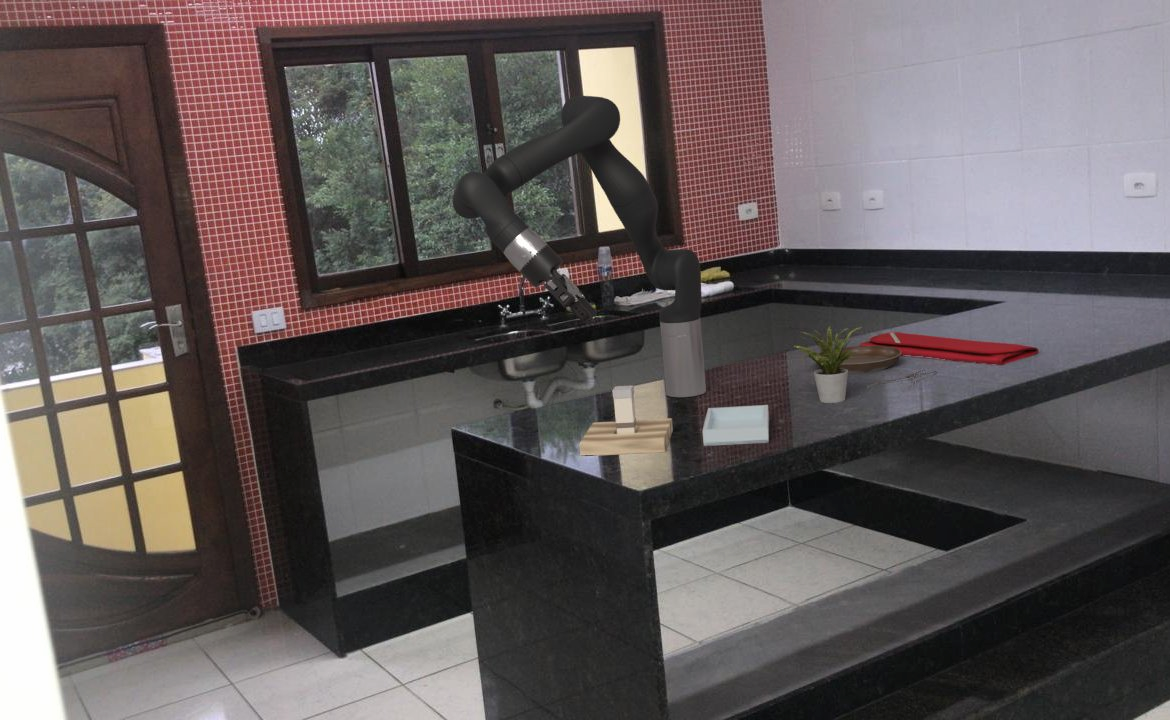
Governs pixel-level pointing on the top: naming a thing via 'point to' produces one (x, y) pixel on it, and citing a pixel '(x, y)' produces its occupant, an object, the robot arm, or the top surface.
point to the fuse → (624, 409)
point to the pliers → (902, 378)
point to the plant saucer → (869, 358)
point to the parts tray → (736, 425)
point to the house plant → (830, 366)
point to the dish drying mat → (952, 348)
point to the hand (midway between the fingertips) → (591, 318)
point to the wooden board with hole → (627, 438)
